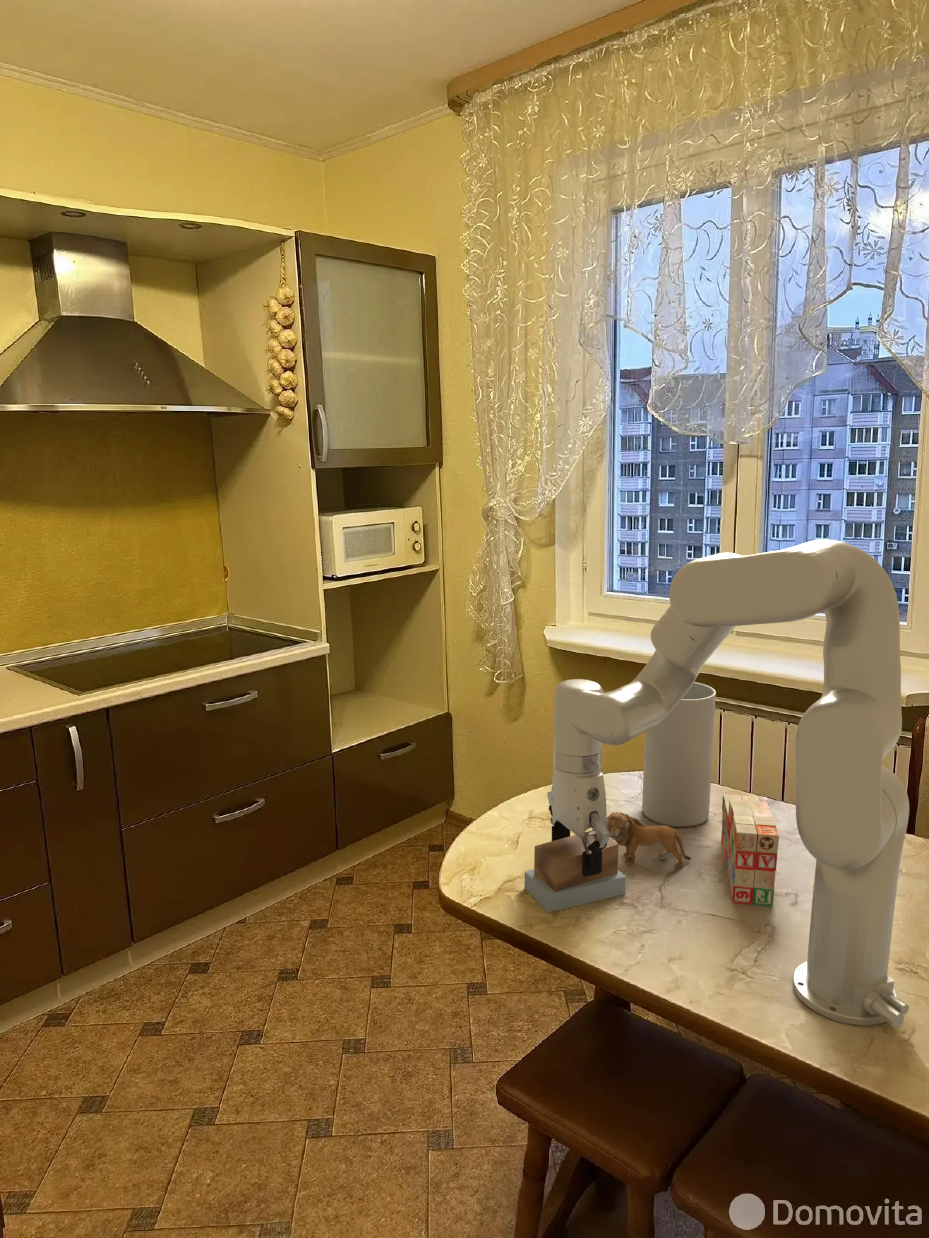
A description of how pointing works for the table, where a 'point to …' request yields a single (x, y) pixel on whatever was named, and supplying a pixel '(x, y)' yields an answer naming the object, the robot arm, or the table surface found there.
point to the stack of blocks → (749, 849)
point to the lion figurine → (643, 837)
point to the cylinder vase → (680, 761)
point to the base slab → (574, 891)
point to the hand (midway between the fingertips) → (575, 860)
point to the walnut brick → (570, 862)
